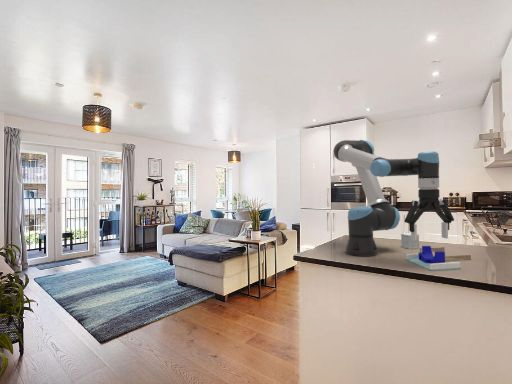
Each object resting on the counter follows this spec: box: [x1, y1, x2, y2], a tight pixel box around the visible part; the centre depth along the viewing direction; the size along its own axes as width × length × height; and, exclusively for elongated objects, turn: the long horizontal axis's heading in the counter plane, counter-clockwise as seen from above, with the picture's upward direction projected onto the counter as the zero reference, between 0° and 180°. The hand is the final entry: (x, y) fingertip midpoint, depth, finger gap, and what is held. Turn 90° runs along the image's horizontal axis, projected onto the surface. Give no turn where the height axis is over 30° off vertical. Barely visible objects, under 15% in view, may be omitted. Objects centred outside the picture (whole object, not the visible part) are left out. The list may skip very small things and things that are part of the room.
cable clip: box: [418, 245, 446, 264], centre depth 115 cm, size 12×4×6 cm, turn 174°
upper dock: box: [419, 246, 472, 262], centre depth 127 cm, size 16×12×2 cm
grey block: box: [400, 232, 420, 250], centre depth 146 cm, size 6×6×7 cm
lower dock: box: [405, 252, 461, 271], centre depth 116 cm, size 16×12×2 cm
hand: (429, 238), depth 116 cm, fingers open, 13 cm apart
